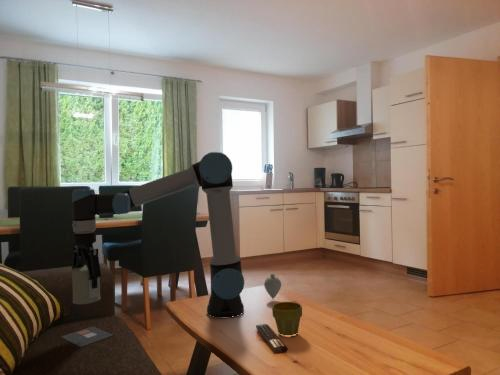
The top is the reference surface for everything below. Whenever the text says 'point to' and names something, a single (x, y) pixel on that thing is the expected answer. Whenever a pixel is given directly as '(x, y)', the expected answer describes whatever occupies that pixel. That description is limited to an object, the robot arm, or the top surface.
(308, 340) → the top surface
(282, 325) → the plant pot
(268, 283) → the spinning top
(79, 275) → the can
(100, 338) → the tile
